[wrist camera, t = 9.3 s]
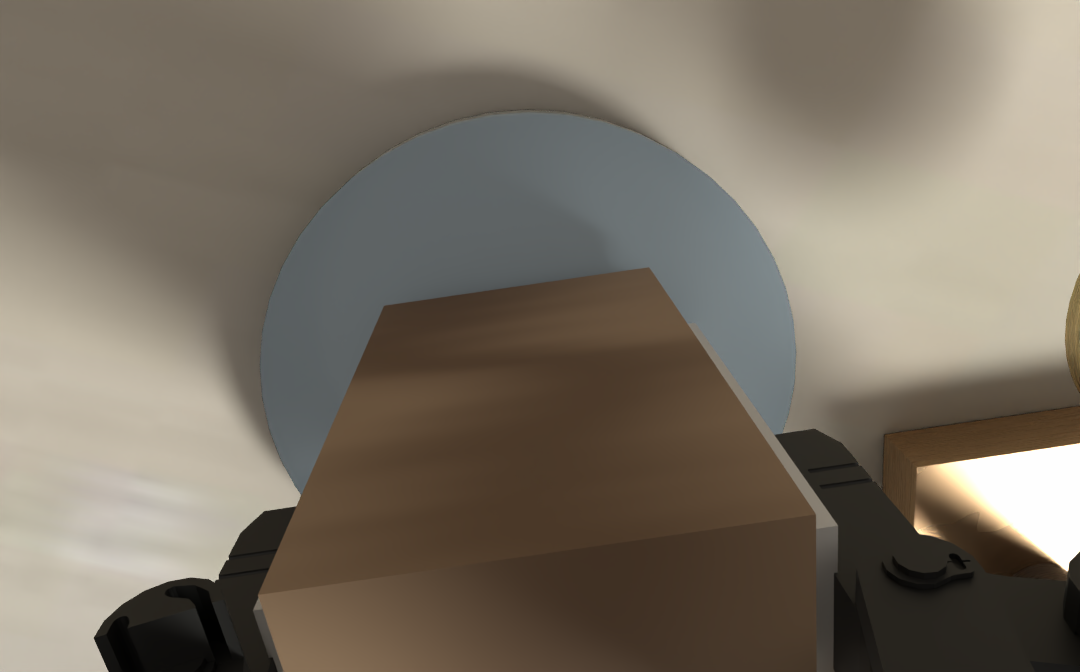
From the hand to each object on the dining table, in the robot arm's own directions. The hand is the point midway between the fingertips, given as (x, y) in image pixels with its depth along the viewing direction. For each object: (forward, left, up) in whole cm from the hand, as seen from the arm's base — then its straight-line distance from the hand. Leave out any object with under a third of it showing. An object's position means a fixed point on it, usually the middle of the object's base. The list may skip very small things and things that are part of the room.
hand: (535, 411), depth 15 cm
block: (0, 0, 0) cm, 0 cm away
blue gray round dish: (0, 0, -2) cm, 2 cm away
